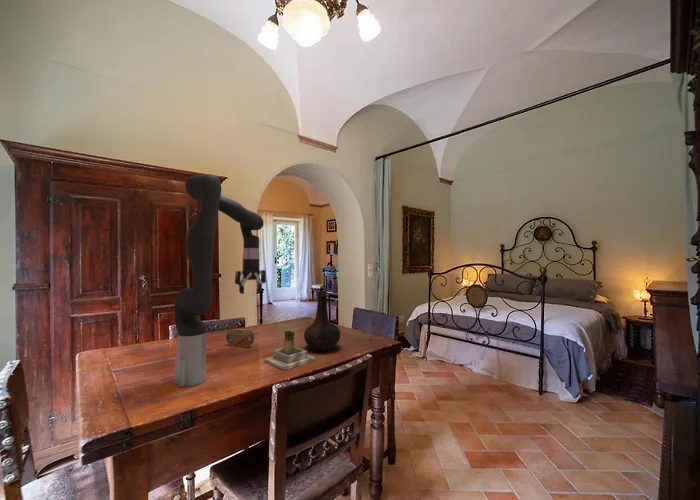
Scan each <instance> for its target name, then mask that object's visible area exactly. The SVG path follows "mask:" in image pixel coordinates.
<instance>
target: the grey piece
mask: <svg viewBox="0 0 700 500" xmlns="http://www.w3.org/2000/svg"><path fill="white" fill-rule="evenodd" d="M295 351H296V353H295V354H292V355H286V354H284V347H281V348H278V349H274V350H272V356H269V357H266V358H264V363H266V364H268V365H270V366H272V367H275V368H277V369H279V370H281V369H282V371H283V370H284V371H287V369H288V370H291V369H293V368H297V367H300V366H303V365H306V364H310V363H312V361H313V362H315V361H316V357H315V356H313V355H311V354H308V350H307V349H306V350H305V349H302V348H301V347H298V346H297V347H296V346H295ZM290 368H291V369H290Z"/></svg>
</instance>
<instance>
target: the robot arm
mask: <svg viewBox="0 0 700 500" xmlns="http://www.w3.org/2000/svg"><path fill="white" fill-rule="evenodd" d="M184 188H185V190H186V193H187V195H188V196H189V197H190V198H192V199H193V200H196V201H198V202H199V203H201V205H200V209H199V212H198V214H197V216H196V218H195V219H194V221H193V222H192V224H191V225H190V227H189V229H188V231H187V235H186V242H185V253H186V258H187V260H188V263H189V266H190V267H191V271H192V274H193V285H192V286H193V287H187V288H183V289H181V290H179V292H177V294H176V296H175V299H174V324H175V327H176V330H177V346H176V348H177V353H176V355H175V357H174V384H176V385H177V386H178V387H179V388H184V387H193V386H197V385H200V384H202V383H204V382H205V381H206V379H207V378H206V377H207V324H206V323H205V322H204V321H202V320H201V319H200V317H199V316H203V315H205V314H207V313H208V312H209V311H210V309H211V307H212V304H213V303H212V302H213V261H214V250H215V240H216V238H215V237H216V228H217V227H216V225H217V217H218V212H220V213H223V214H224V215H226V216H228V217H229V218H231V219H232V220H233V221H235V222H237V223H239V227H240V231H241V235H242V240H243V246H242V247H243V248H242V249H243V250H242V270H236V271H235V277H234V284H235V285H238V292H239V294H240V295H243V294H244V293H245V284H246V283H247V281H251V280H252V281H255V282H256V283H257V285H256V287H257V288H256V289H257V290H256V291H257V293H261V292H262V290H263V289H262V288H263V285H264V284H266V282H267V272H266V270H263V269H260V265H261V264H260V262H261V260H260V259H261V258H260V257H261V256H260V255H261V253H260V237H259V236H257V235H255V234H254V235H253V233H252V231H260V230H261V229H262V228H263V227H264V223H265V222H264V219H263V218H262V216H260V214H259V213H257V212H256V213H255V212H254V211H251V210H249V209H247V208H245V207H244V205H242V204H240V203H239V202H237V201H235V200H234V199H231V198H229V197H225V196H224V195H222V183H221V180H220V179H219V177H218V176H217V175H215V174H198V175H191V176H190V177H188V178H187V179H186V181H185V187H184ZM259 275H260V276H259ZM241 276H242V277H241Z"/></svg>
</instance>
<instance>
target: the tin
mask: <svg viewBox="0 0 700 500" xmlns="http://www.w3.org/2000/svg"><path fill="white" fill-rule="evenodd" d="M225 338H226V342H227V344H228V345H229V346H231V347H237V348H249V347H250V346H252V345H253V344H254V342H255V334H254V332H253V331H252V330H251V329H244V328H234V329H233V328H232V329H230V330H228V332H227V333H226V337H225Z"/></svg>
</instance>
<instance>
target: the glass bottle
mask: <svg viewBox="0 0 700 500" xmlns="http://www.w3.org/2000/svg"><path fill="white" fill-rule="evenodd" d="M327 293H328V291H326V290H320V291H317V294H315V295H316V297H317V305H316V313H315V318H314V321H313V323H311V324H310V325H308V326H307V327H306V328H305V330H304V334H303V335H304V336H303V339H304V342H305V343H306V345H307V346H308V348H310V349H312V350H314V351H318V352H324V351H325V352H326V351H329V350H331V349H333V348H335V347H336V346H337V345H338V343H339V341H340V339H341V330H340V328H339V327H338V326H337V325H336V324H334V323H332V322H330V320H329V313H328V303H327V302H328V299H327V297H328V296H329V294H327Z"/></svg>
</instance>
